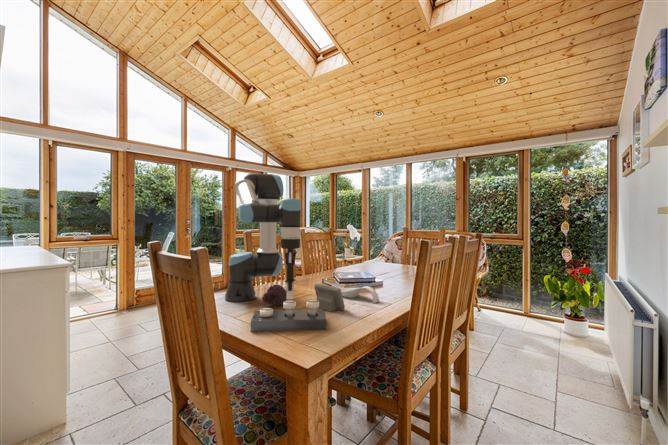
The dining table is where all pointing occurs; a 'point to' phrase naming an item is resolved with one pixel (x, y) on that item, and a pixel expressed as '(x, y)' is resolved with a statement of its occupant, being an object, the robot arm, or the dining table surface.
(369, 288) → the grey curved piece
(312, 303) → the right knob
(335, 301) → the digital clock
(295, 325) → the knob plate
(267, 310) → the left knob
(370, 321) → the dining table surface
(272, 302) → the pine cone
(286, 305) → the middle knob
